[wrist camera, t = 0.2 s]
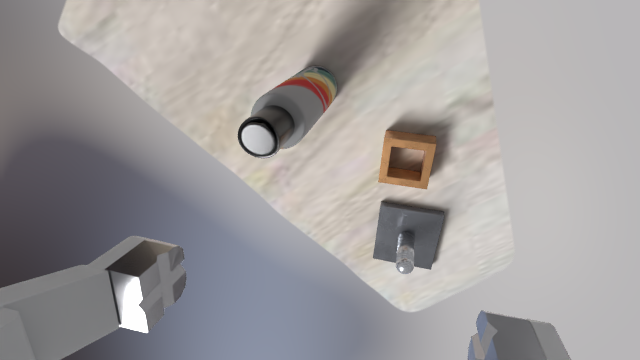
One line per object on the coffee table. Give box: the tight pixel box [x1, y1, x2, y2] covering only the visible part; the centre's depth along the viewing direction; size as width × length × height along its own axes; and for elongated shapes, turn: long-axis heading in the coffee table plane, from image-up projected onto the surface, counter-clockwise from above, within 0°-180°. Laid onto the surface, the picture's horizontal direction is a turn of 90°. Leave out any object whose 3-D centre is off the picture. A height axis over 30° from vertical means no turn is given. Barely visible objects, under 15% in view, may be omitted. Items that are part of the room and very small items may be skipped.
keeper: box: [373, 202, 444, 274], centre depth 50 cm, size 10×9×8 cm
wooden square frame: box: [378, 130, 436, 189], centre depth 46 cm, size 6×6×3 cm
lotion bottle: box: [238, 66, 337, 158], centre depth 38 cm, size 6×6×20 cm
